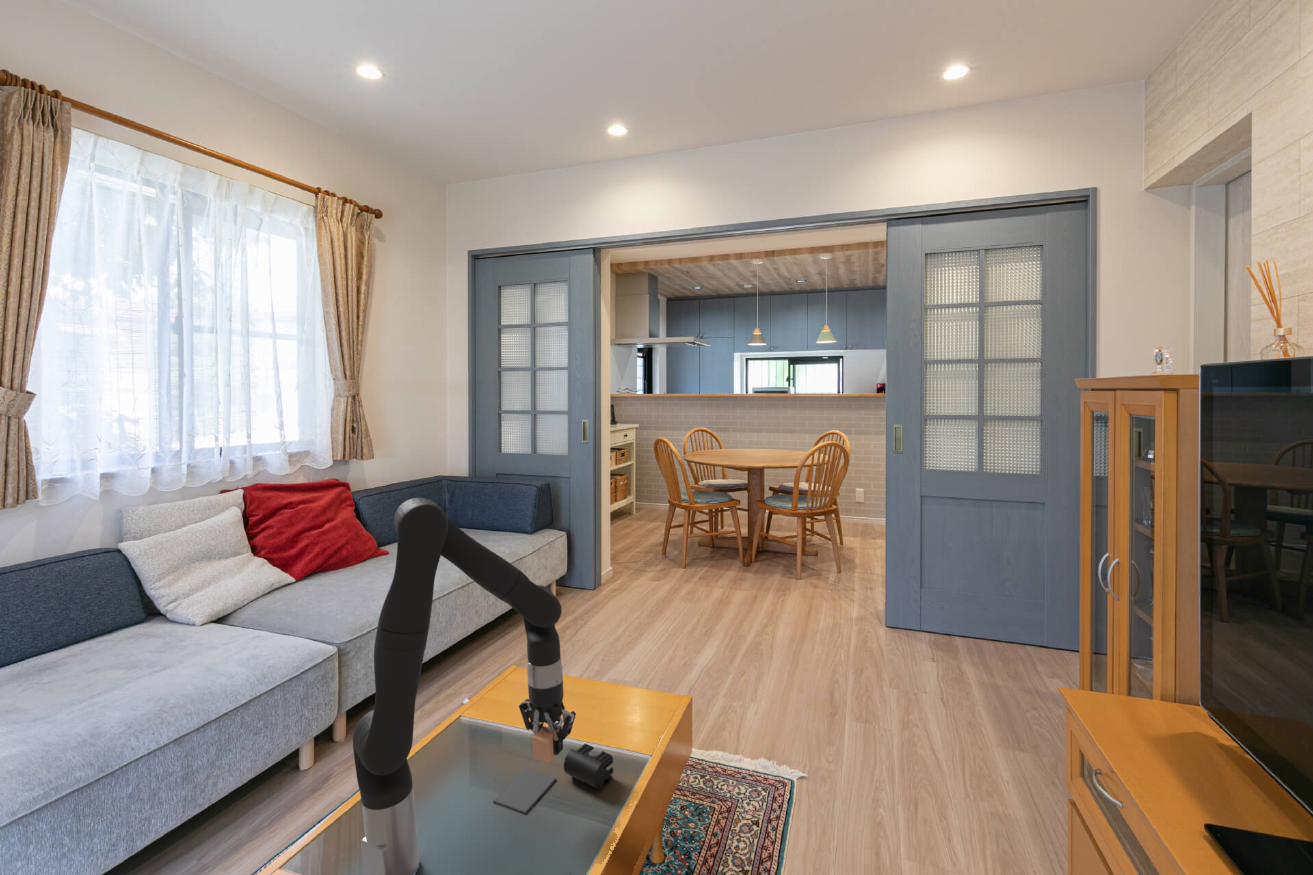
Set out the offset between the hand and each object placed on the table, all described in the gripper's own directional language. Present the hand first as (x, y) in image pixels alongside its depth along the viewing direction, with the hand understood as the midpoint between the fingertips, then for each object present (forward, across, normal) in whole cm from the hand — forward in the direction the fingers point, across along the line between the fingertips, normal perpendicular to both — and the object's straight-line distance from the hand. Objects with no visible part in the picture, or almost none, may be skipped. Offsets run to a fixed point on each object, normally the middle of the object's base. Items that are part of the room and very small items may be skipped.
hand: (549, 749), depth 137 cm
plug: (+1, 0, +1) cm, 1 cm away
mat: (+14, -9, +2) cm, 17 cm away
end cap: (+15, +3, +11) cm, 19 cm away
